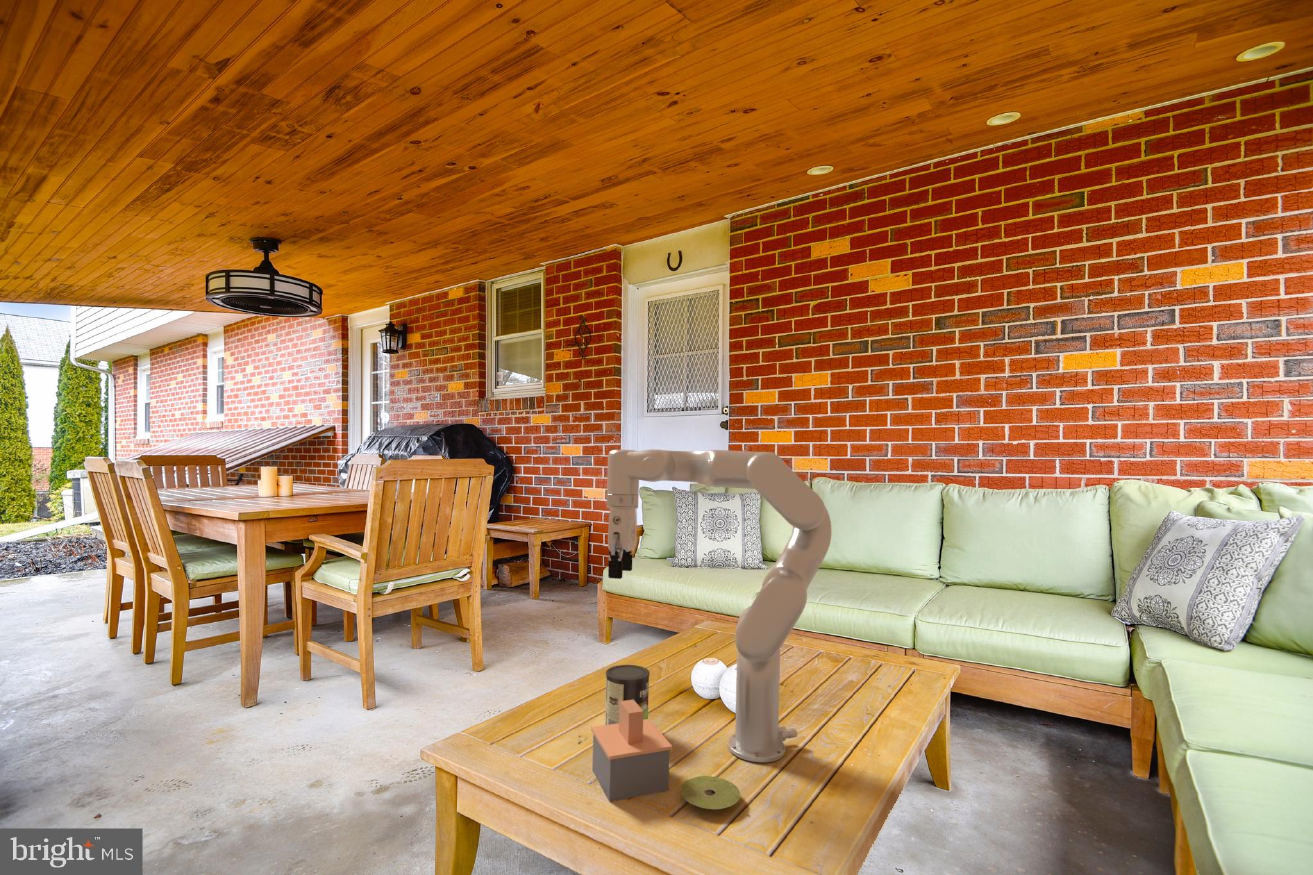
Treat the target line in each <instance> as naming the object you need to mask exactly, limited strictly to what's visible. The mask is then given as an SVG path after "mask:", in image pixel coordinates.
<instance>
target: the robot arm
mask: <svg viewBox="0 0 1313 875" xmlns="http://www.w3.org/2000/svg"><path fill="white" fill-rule="evenodd" d="M606 478H607V482H606V484H607V485H606V486H607V489H606V508H608V509H609V515H608V518H609V520H608V529H607V531H608V532H607V548H608V550H609V551H608V554H609V555H608V567H607V568H608V574H607V577H608V578H609V579H617V580H618V579H619V580H621V579H623V571H625V572H631V571H632V570H633V550H634V549H635V548H636V547H637V543H638V541H637V539H638V538H637V537H638V536H637V530H638V529H637V512H636V511H637V510H636V509H639V496H640V495H639V493H640V491H639V490H640V481H645V482H648V483H656V482H660V481H665V482H666V481H667V482H668V481H669V482H671V481H672V482H684V483H685V482H686V483H697V484H701V485H705V486H708V487H713V488H733V489H746V490H747V489H748V490H749V489H750V490H755V491H757V493H759V495H760V496H761V497H762V499H764V500H765V501H766V502H767V503H768V504H769V505H770V506H771V507H772V508H773V509H774V510H775V511H776V512H777V513H778V514H779V515H780V516H781V517H782V518H783V519H784V520H785V521H786V522H787V523H788V524H789V525H790V526H792V532H791V534H790V537H789V539H788V541H787V543H786V544H785V546H784V548H783V550H782V552H781V554H780V555H779V556H778V558H777V560H776V561H775V563H774V564H773V566H772V568H771V569H770V570H769V572H768V573H767V574H766V576H764V578H763V581H762V585H761V588H760V590H759V592H758V593H757V595H756V597H755V599H754V600H753V602H752V603H751V606H748V607H747V608H745V609H744V610H743V611H742V612H741V613H740V616H739V618H738V619H737V622H736V623H737V624H736V628H735V631H734V632H735V633H734V643H735V647H736V650H737V651H736V652H737V653H736V654H737V655H736V677H735V678H736V681H735V682H736V685H735V686H736V688H735V731H734V732H735V733H734V734H733V735H731V736H730V737H729V738H728V740H727V742H728V744H727V746H728V749H729V751H730V752H731V754H732V755H734V756H735V757H737V758H739V759H742V760H745V761H749V762H753V763H763V764H764V763H770V762H771V763H772V762H777V761H778V760H780V759H782V758H783V757H784V756H785V754H786V746H785V744H784V741H786V740H787V739H794V738H797V737H798V731H797V729H796V727H795V728H786V726H785V725H779V722H780V720H779V714H780V682H781V681H780V678H781V675H780V673H781V672H780V671H781V648H782V646H783V645H784V643H785V642H786V640H787V639H788V636H790V634H791V632H792V630H793V629H794V627H795V626H796V624H797V623H798V621H799V619H800V617H801V616H802V614H803V613H804V610H805V608H806V606H807V600H808V594H807V593H808V592H807V591H808V589H809V586H810V584H811V582H812V581H813V578H814V577H815V576H816V574H817V572H818V570H819V568H820V566H821V564H822V563H823V561H824V560H825V558H826V555H827V554H828V551H829V548H830V545H831V539H832V522H831V517H830V514H829V511H828V509H827V507H826V505H825V502H824V500H823V499H822V497H821V496H820V495H819V494H818V492H816V491H814V490H813V488H811V487H810V486H809V485H808V484H806V483H805V481H804V480H802V478H801V477H799V476H798V475H797V473H796V472H795V471H793V470H792V469H791V467H790V466H789V465H788V464H787V463H786V462H785V461H784V460H783V459H782V458H781V457H780V456H779V455H778V454H776V453H775V452H771V451H747V450H727V449H725V450H722V449H709V450H708V449H707V450H704V451H702V450H701V451H687V450H683V451H681V450H668V449H667V450H666V449H645V450H634V449H611V450H610V451H609V453H608V455H607V477H606Z"/></svg>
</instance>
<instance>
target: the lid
mask: <svg viewBox="0 0 1313 875" xmlns="http://www.w3.org/2000/svg"><path fill="white" fill-rule="evenodd" d="M590 730H591V733H592V735H593V734H594V736H595V737H596V739H597V741H598V742H599V744H600V746H601V747H602V749H603V751H604V752H605V754H606V756H607V757H608V759H609V760H611V759H617V758H623V757H629V756H635V755H641V754H647V753H653V752H659V751H665V750H669V751H670V750H671V751H672V750H673V745H672V744H671V743H670V742H669V741H668V739H666V737H665V736H664V735H663V734H662V732H661V731H660V730H659V728H657V727H656V725H655V724H654V723H653V722H652V721H651V719H650V718H648V719H645V720H643V710H642V709H641V708H640V707H639V705H638V704H637V703H636V702H635V701H634V700H626V701H620V705H619V723H617V724H611V725H605V724H604V725H599V726H591V728H590Z"/></svg>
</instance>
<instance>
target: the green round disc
mask: <svg viewBox="0 0 1313 875" xmlns="http://www.w3.org/2000/svg"><path fill="white" fill-rule="evenodd" d="M680 794H681V796H682V798H683V799H684V800H685V801H686V802H688V803H689V804H691V805H693V806H696V807H699V808H700V809H705V810H709V809H710V810H721V809H722V810H723V809H726V808H729V807H732V806H733V805H735V804H737V802H738V801H739V800H740V797H741V792H740V789H739V788H738V787H737V785H735V784H734V783H733V782H732V781H729V780H727V779H725V778H723V777H722V778H721V777H717V776H712V775H710V776H709V775H699V776H693V777H691V778H689V779H687V780H685V781H684V782H683V783H682V785H681V786H680Z"/></svg>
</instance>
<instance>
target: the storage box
mask: <svg viewBox="0 0 1313 875" xmlns="http://www.w3.org/2000/svg"><path fill="white" fill-rule="evenodd" d="M592 737H593V738H592V740H593V741H592V768H591V769H592V773H593V774H594V776H595V778H596V780H597V782H598V783H599V785H600V787H601V788H602V790H603V792H604V794H605V797H606V798H607V800H608V802H609V801H611V802H615V801H614V800H616V801H621V800H626V799H630V798H631V799H632V798H636V797H641V796H647V795H652V794H656V793H662V792H667V791H668V792H669V786H670V783H669V781H670V776H669V775H670V750H665V751H659V752H653V753H647V754H641V755H635V756H629V757H623V758H617V759H611V760H609V759H608V757H607V756H606V754H605V752H604V751H603V749H602V747H601V746H600V744H599V742H598V741H597V739H596V737H595V736H594V734H593V733H592Z"/></svg>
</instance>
